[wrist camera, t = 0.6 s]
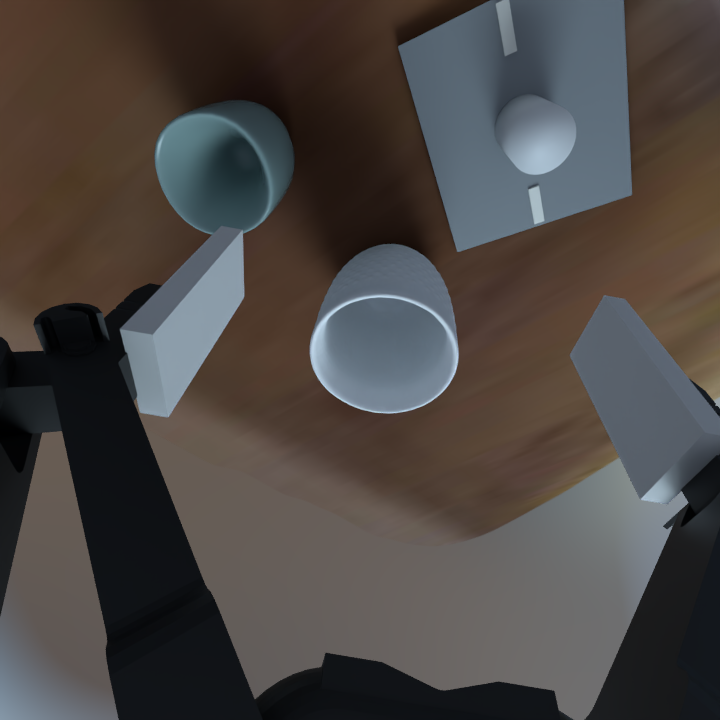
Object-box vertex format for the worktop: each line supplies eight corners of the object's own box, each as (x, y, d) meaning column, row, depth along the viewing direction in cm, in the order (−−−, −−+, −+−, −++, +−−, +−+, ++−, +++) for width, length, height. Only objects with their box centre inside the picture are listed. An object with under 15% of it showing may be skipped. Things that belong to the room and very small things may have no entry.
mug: (451, 352, 46) (463, 444, 35) (352, 360, 48) (335, 449, 37) (445, 215, 37) (457, 283, 27) (323, 231, 39) (291, 301, 29)
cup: (315, 186, 37) (288, 227, 29) (233, 203, 38) (187, 246, 30) (287, 81, 32) (246, 95, 24) (195, 106, 34) (129, 127, 26)
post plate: (398, 46, 30) (395, 48, 25) (614, -62, 26) (669, -89, 20) (456, 247, 39) (463, 282, 33) (627, 191, 35) (667, 220, 29)
